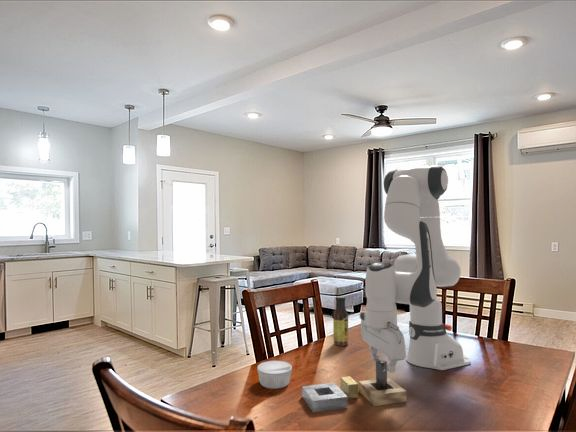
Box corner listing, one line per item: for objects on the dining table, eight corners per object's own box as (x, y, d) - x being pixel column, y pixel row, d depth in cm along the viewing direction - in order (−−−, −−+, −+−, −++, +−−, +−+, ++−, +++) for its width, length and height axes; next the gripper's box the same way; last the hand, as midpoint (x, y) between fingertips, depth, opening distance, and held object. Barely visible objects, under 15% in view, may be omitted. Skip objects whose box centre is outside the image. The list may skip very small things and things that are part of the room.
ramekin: (279, 393, 117) (279, 375, 117) (249, 385, 123) (249, 368, 123) (298, 380, 126) (298, 364, 126) (270, 374, 132) (270, 358, 132)
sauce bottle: (348, 347, 161) (347, 298, 161) (332, 346, 162) (332, 298, 162) (348, 342, 167) (348, 295, 168) (334, 341, 168) (333, 295, 169)
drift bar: (349, 389, 119) (349, 376, 119) (358, 397, 113) (358, 383, 113) (340, 390, 118) (340, 377, 118) (348, 398, 112) (348, 384, 113)
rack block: (388, 387, 120) (388, 377, 120) (406, 401, 111) (406, 390, 111) (358, 391, 118) (358, 381, 118) (374, 405, 108) (374, 395, 108)
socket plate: (334, 392, 117) (334, 382, 117) (347, 407, 107) (347, 396, 107) (302, 396, 114) (302, 386, 114) (313, 412, 104) (312, 401, 105)
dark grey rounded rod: (383, 393, 116) (383, 359, 116) (389, 397, 113) (388, 363, 113) (374, 394, 115) (373, 360, 116) (379, 399, 112) (378, 364, 112)
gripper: (410, 326, 106) (412, 377, 106) (374, 310, 125) (376, 353, 125) (390, 328, 104) (391, 380, 104) (356, 311, 124) (358, 355, 124)
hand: (382, 365), depth 115 cm, fingers open, 8 cm apart
